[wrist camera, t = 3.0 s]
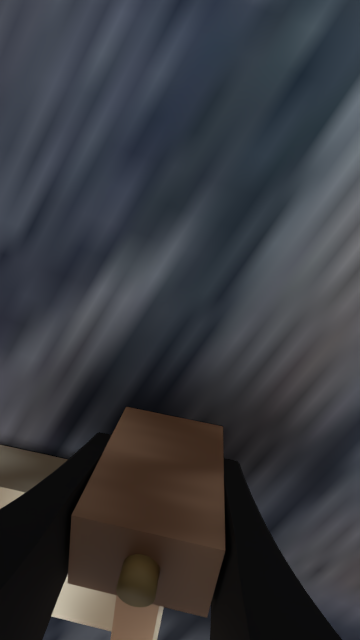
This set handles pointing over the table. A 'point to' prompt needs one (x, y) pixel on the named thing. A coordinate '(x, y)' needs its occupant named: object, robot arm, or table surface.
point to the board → (74, 601)
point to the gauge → (152, 520)
